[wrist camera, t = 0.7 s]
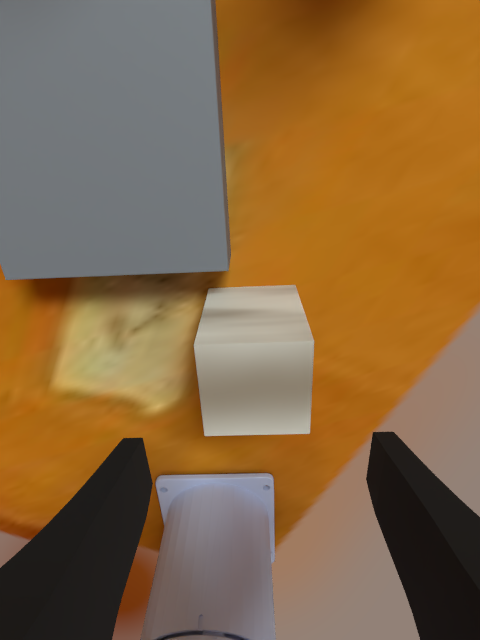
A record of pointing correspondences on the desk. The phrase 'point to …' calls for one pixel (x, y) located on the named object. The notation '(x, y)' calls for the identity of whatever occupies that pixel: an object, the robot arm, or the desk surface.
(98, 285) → the desk surface
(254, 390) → the cream block
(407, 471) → the robot arm
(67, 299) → the desk surface
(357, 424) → the desk surface
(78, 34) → the base block
